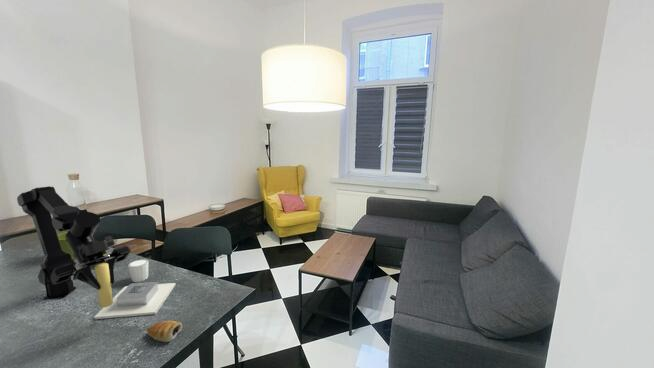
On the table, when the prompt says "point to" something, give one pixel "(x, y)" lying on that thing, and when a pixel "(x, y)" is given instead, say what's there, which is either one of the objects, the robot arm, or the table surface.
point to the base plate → (138, 310)
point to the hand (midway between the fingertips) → (106, 286)
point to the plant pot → (65, 244)
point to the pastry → (164, 330)
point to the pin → (104, 285)
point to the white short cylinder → (138, 270)
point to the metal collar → (137, 294)
